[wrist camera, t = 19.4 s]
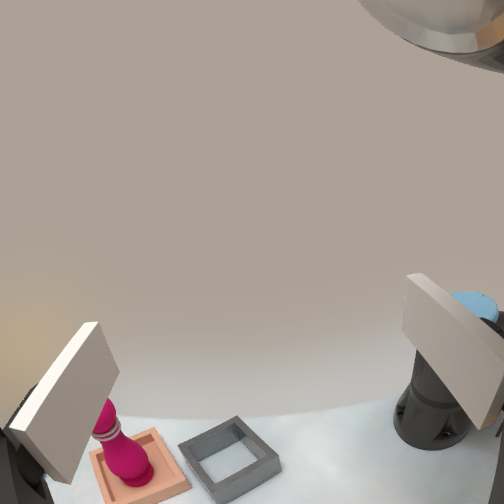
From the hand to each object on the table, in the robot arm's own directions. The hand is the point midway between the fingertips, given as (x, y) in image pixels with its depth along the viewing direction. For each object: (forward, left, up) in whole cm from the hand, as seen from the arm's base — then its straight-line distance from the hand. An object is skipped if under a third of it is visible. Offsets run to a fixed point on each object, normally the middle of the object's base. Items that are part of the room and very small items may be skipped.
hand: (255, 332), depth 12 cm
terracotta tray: (+12, -27, -38) cm, 48 cm away
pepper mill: (+12, -27, -37) cm, 48 cm away
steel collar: (-3, -20, -38) cm, 43 cm away
